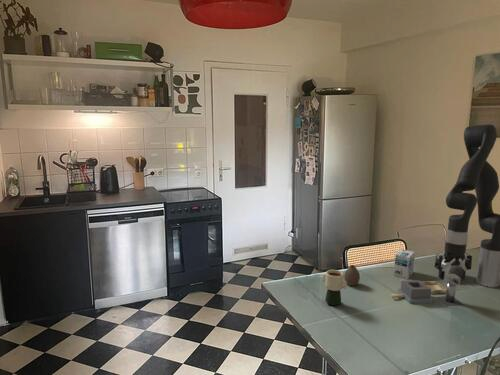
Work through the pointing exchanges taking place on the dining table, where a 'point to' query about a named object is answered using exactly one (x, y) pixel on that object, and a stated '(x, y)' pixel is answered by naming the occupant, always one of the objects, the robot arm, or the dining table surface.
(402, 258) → the light bulb box
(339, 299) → the character mug
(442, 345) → the dining table surface
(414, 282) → the block
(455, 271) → the perforated stone tool
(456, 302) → the mat
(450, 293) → the grey tabbed block
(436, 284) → the tray
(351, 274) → the vase
